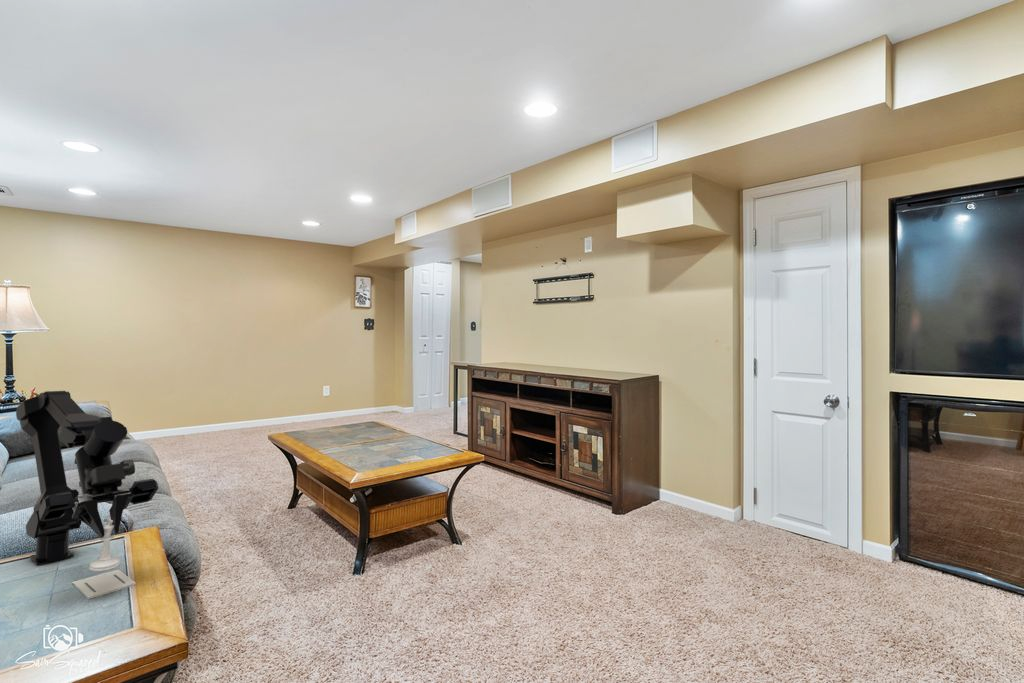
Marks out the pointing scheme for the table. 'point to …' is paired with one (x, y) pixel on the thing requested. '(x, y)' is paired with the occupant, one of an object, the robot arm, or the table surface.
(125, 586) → the slotted cream plate
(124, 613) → the table surface
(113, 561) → the chess piece
